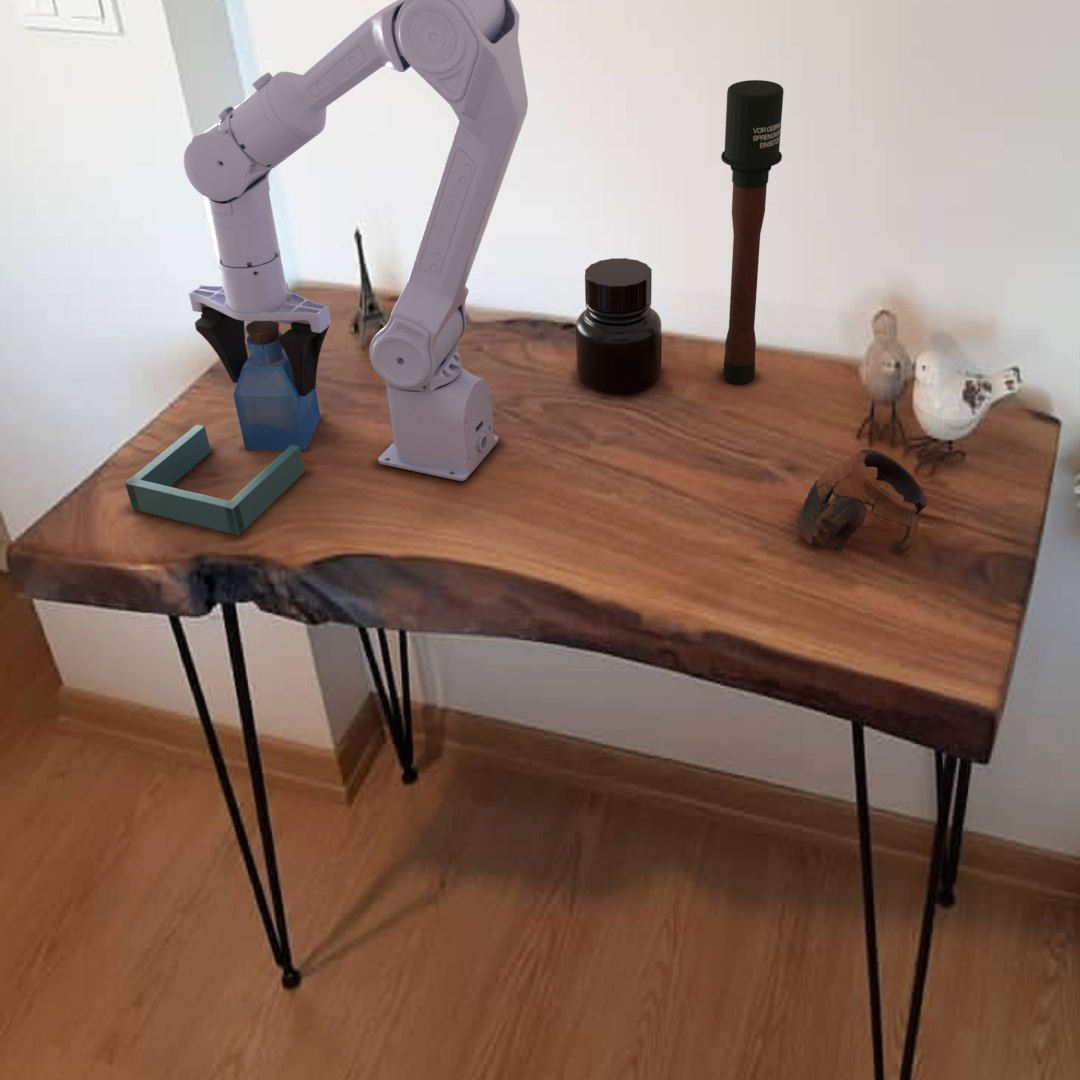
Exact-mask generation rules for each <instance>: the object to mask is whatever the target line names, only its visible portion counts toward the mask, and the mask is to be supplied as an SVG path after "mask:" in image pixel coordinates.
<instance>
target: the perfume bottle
mask: <svg viewBox="0 0 1080 1080" xmlns="http://www.w3.org/2000/svg"><path fill="white" fill-rule="evenodd" d="M245 331H246V332H247V335H248V336H247V338H246V343H247V344H246V345H247V349H248V351H249V353H250V354H249V355H248V359H247V361H246V362H245V364H244V366H243V368H242V371H241V374H240V377H239V380H238V383H236V386H235V389H234V392H233V395H232V396H233V401H234V405H235V409H236V414H237V418H238V424H239V428H240V432H241V436H242V440H243V441H242V442H243V446H244V449H245V450H268V451H269V450H273V451H274V450H277V451H278V450H279V451H285V450H286V449H287V448H288V447H289V446H290V445H295V446H299V447H300V451H306V450H307V449H308V446H309V444H310V441H311V440H312V438H313V435H314V433H315V431H316V429H317V427H318V425H319V423H320V420H321V413H320V412H321V411H320V406H319V400H318V394H317V389H316V387H315V388H314V389H313V390H312V391H311V392H310V393H309V394H308V395H306V396H300V395H299V393H298V391H297V389H296V386H295V381H294V376H293V371H292V368H291V365H290V362H289V359H288V357H287V355H286V353H285V351H284V349H283V347H282V346H281V344H280V343H279V340H278V338H279V337H280V336H281V335H283V332H281V331H280V322H274V321H250V322H249V323H247V325H246V327H245Z"/></svg>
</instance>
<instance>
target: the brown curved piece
mask: <svg viewBox="0 0 1080 1080" xmlns="http://www.w3.org/2000/svg"><path fill="white" fill-rule="evenodd" d="M868 468H876V476H875V477H874V476H873V475H872V474H871V472H870V471H869V469H868ZM878 481H879V482H885V483H886V484H888V485H890V486H891V487H892V489H894V491H895V492H896V493H898V494H899V495H900V496H903V500H902V499H900V498H899V497H897V496H896V495H893V494H892V493H891V492H889V491H888V490H887V489H885V488H883V487H882V486H881V484H880V483H878ZM832 496H833V498H832ZM831 498H832V500H831V504H830V503H829V501H830V499H831ZM865 505H868V506H871V510H870V512H871V514H873V515H875V516H878V517H881V518H882V519H884V520H886V521H888V522H893V523H896V524H897V525H899V526H902V527H906V528H905V534H904V536H903V538H902V539H901V541H900V543H899V546H898V547H899V549H900V550H902V551H903V550H905V549H906V548H908V547H909V544H910V543H911V542H912V541H913V539H914V536H915V535H916V534H917V531H918V527H919V522H920V512H921V511H922V510H924V509H925V508H926V507H927V497H926V494H925V491H924V490H923V488H922V487H921V485H920V484H919V483H918V482H917V480H916V478H915V477H914V476H913V475H912V474H911V473H910V472H909V471H908V470H907V469H906V468H905V467H903V466H902V464H900V463H899V462H898V461H896V460H895V459H894V458H891V457H890V456H888V455H886V454H885V453H883V452H880V451H877V450H875V449H862V450H860V451H858V453H857V454H856V456H854V458H852V459H846V460H842V461H839V462H837V463H834V464H832V465H830V466H829V467H828V468H826V469H825V470H824V471H823V472H822V474H821V475H820V476H819V477H818V478H817V479H816V480H815V481H814V483H813V485H812V486H811V488H810V491H809V492H808V493H807V496H806V497H805V499H804V502H803V505H802V509H801V511H800V513H799V514H798V517H797V524H798V529H799V532H800V533H801V535H802V536H803V539H804V540H805V541H806V543H808V545H810V546H812V545H814V544H815V541H817V542H818V543H820V544H821V545H822V546H823V548H825V549H827V550H831V551H834V552H841V551H843V549H844V547H845V546H846V545H847V543H848V542H849V540H850V538H851V537H852V536H853V535H855V534H856V533H857V531H858V530H859V529H860V528H862V526H863V525H864V523H865V519H866V516H867V513H868V508H867V507H866V506H865Z"/></svg>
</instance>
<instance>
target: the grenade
mask: <svg viewBox="0 0 1080 1080" xmlns="http://www.w3.org/2000/svg"><path fill="white" fill-rule="evenodd" d="M784 91H785V90H784V87H783V86H782V85H781V84H779V83H777V82H775V81H769V80H764V79H763V80H762V79H749V80H742V81H737V82H735V83H732V84H731V85H729V86H728V88H727V90H726V109H725V110H726V111H725V133H724V150H723V151H722V152H721V154H720V155H721V156H720V159H721V161H722V163H724V164H725V165H728V166H730V170H731V172H732V173H731V183H732V197H731V217H732V218H731V221H732V232H733V236H732V237H733V239H732V240H733V241H732V258H731V259H732V260H731V276H730V278H731V279H730V294H729V295H730V297H729V316H728V317H729V318H728V329H727V333H726V338H725V342H724V358H723V367H722V377H723V380H725V382H727V383H730V384H732V385H747V384H750V383H751V382H752V381H754V380H755V376H756V348H757V339H756V332H755V322H756V310H757V309H756V308H757V307H756V305H757V292H758V277H759V263H760V262H759V259H760V249H761V248H760V247H761V246H760V245H761V233H762V229H763V224H764V219H765V214H766V205H767V204H766V202H767V187H768V185H767V184H768V183H769V176H770V171H771V170H772V167H773V166H775V165H778V164H780V162H781V161H782V159H783V153H782V152H781V151H780V147H781V133H782V132H781V131H782V119H783V118H782V117H783V104H784Z"/></svg>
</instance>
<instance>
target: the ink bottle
mask: <svg viewBox="0 0 1080 1080" xmlns="http://www.w3.org/2000/svg"><path fill="white" fill-rule="evenodd" d="M652 271H653V270H652V268H651V267H650V266H649V265H648V264H647V263H645V262H643V261H640V260H638V259H631V258H627V257H623V258H618V257H616V258H614V257H612V258H607V259H601V260H598V261H596V262H594V263H590V265H589V266H588V267H587V268H585V270H584V273H585V274H584V299H585V307H586V309H584V310H583V311H582V312H581V313H580V314H579V316H578V318H577V319H576V322H575V349H576V350H575V352H576V353H575V354H576V376H577V379H578V381H579V382H580V383H581V384H582V385H583V386H584V387H586V388H587V389H590V390H591V391H595V392H598V393H601V394H607V395H616V396H617V395H618V396H619V395H620V396H622V395H633V394H636V393H640V392H643V391H645V390H647V389H649V388H650V387H651V386H653V385H654V384H655V383H656V382H657V381H658V380H659V378H660V376H661V368H662V348H663V347H662V344H663V343H662V342H663V341H662V340H663V339H662V338H663V336H662V320H661V317H660V315H659V313H657V311H656V310H654V309H653V308H652V289H653V287H652V280H653V279H652V277H653V276H652V275H653V274H652V273H653V272H652Z"/></svg>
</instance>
